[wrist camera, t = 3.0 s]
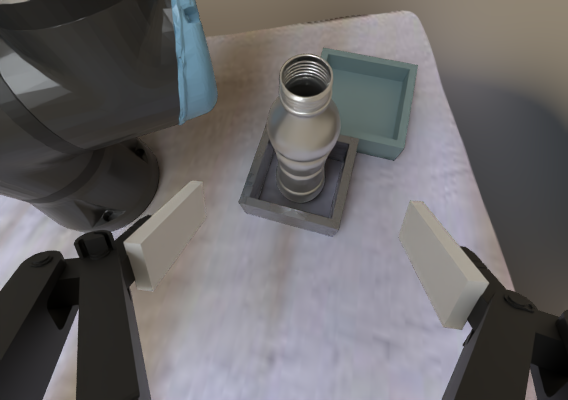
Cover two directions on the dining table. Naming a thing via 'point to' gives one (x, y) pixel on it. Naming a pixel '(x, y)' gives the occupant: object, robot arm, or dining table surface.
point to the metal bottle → (303, 126)
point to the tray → (372, 100)
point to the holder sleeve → (293, 217)
